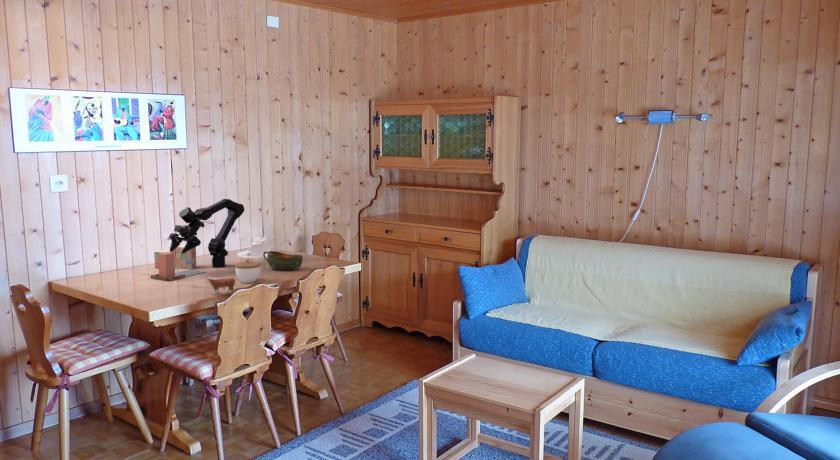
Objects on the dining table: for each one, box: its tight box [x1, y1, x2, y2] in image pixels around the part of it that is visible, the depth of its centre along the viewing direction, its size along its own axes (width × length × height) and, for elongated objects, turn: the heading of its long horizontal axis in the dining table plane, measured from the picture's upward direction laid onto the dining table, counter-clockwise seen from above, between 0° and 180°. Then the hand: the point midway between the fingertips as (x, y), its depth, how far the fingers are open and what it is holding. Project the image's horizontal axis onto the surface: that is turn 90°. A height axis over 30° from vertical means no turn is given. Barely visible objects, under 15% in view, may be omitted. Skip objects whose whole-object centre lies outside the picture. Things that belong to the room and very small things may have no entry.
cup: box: [263, 250, 304, 272], centre depth 364 cm, size 13×20×10 cm, turn 56°
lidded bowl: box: [234, 259, 262, 284], centre depth 336 cm, size 13×13×11 cm
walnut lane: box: [150, 273, 186, 282], centre depth 343 cm, size 11×13×2 cm
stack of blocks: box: [153, 244, 197, 270], centre depth 369 cm, size 21×6×12 cm, turn 85°
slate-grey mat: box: [175, 269, 206, 277], centre depth 355 cm, size 12×12×1 cm
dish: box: [237, 235, 280, 259], centre depth 409 cm, size 25×25×11 cm
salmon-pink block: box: [158, 252, 176, 278], centre depth 342 cm, size 6×6×13 cm
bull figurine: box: [205, 276, 236, 296], centre depth 310 cm, size 4×13×8 cm, turn 95°
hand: (176, 252), depth 346 cm, fingers open, 9 cm apart
